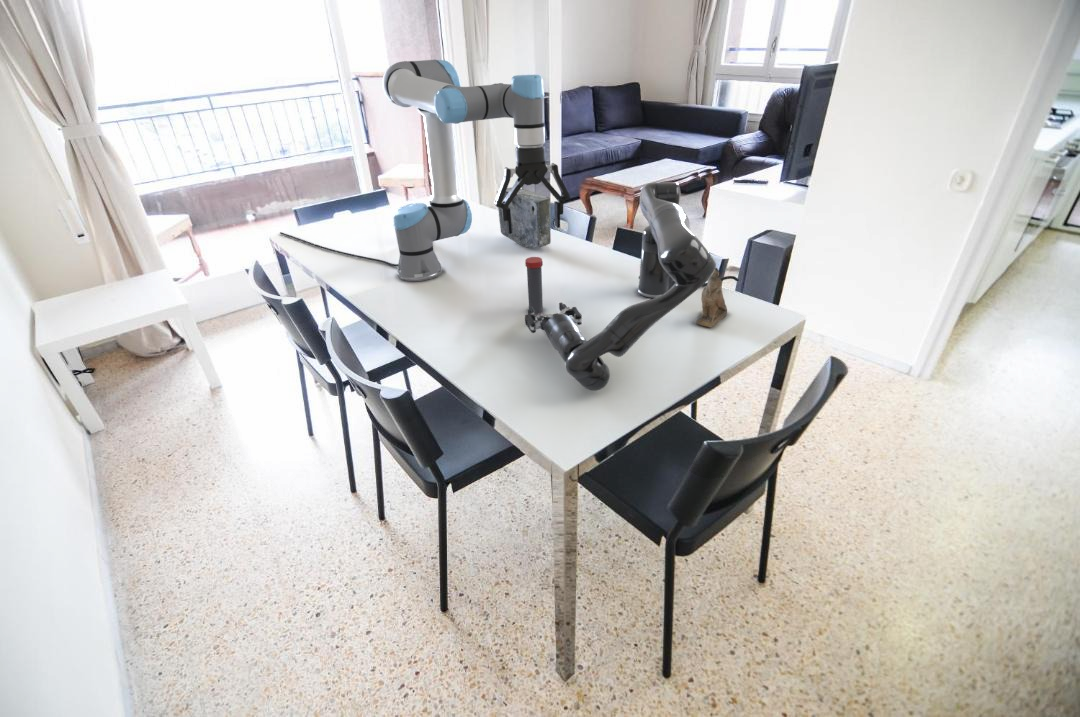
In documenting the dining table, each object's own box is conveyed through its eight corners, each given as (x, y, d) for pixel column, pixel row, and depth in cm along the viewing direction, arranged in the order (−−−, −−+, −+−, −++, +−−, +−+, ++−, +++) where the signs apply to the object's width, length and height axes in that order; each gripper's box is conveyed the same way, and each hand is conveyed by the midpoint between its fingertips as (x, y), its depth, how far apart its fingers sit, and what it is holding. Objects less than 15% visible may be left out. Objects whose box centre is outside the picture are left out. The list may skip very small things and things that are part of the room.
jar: (528, 313, 146) (525, 263, 138) (529, 307, 150) (527, 258, 141) (542, 314, 146) (540, 264, 138) (543, 308, 149) (541, 258, 141)
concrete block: (555, 250, 192) (555, 197, 181) (537, 255, 188) (535, 201, 177) (517, 234, 210) (514, 185, 200) (499, 238, 206) (496, 189, 196)
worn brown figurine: (709, 335, 136) (713, 280, 124) (691, 329, 139) (693, 274, 128) (730, 313, 142) (736, 258, 130) (712, 307, 145) (716, 253, 133)
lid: (524, 268, 138) (524, 262, 137) (526, 262, 142) (526, 256, 142) (541, 268, 138) (541, 262, 137) (543, 262, 142) (543, 256, 141)
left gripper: (572, 139, 130) (572, 220, 141) (478, 147, 125) (486, 230, 136) (582, 143, 124) (581, 227, 135) (483, 151, 118) (491, 238, 130)
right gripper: (537, 353, 122) (521, 324, 136) (591, 343, 126) (570, 316, 139) (535, 326, 119) (519, 299, 132) (591, 316, 122) (570, 291, 135)
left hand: (533, 229), depth 135 cm, fingers open, 13 cm apart
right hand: (545, 307), depth 135 cm, fingers open, 8 cm apart
